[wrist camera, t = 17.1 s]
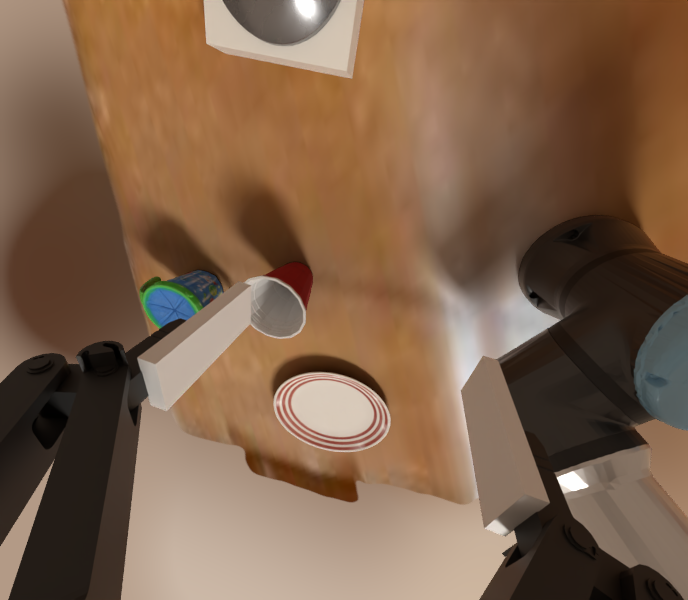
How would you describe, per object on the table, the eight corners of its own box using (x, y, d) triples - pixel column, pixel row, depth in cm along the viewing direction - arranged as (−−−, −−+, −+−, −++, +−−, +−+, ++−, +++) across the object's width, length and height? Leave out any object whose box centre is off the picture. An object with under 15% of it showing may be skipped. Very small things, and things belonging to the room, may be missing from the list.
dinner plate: (414, 399, 60) (415, 411, 57) (356, 455, 74) (354, 468, 71) (302, 342, 58) (297, 352, 55) (264, 411, 71) (259, 422, 69)
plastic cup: (257, 263, 50) (220, 293, 40) (305, 237, 46) (277, 264, 36) (289, 310, 54) (263, 349, 43) (336, 290, 50) (319, 328, 39)
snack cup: (249, 282, 52) (219, 309, 44) (238, 321, 58) (209, 353, 49) (173, 246, 51) (126, 266, 43) (169, 289, 57) (127, 316, 48)
